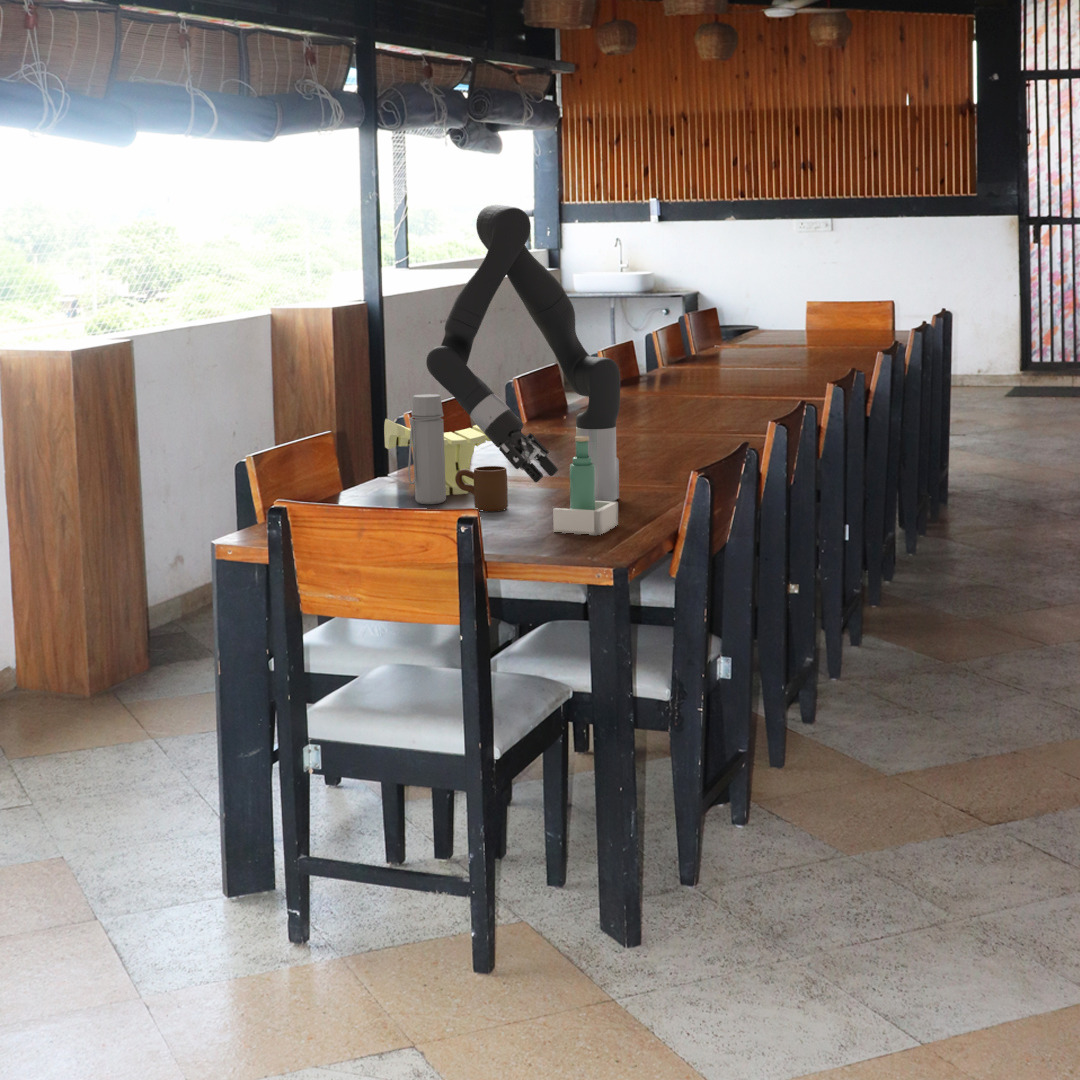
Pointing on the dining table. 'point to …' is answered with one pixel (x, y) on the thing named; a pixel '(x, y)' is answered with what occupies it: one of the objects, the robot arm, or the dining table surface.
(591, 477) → the green bottle
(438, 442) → the water bottle
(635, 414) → the dining table surface
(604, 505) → the holder
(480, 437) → the slatted curved stool
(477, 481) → the mug
